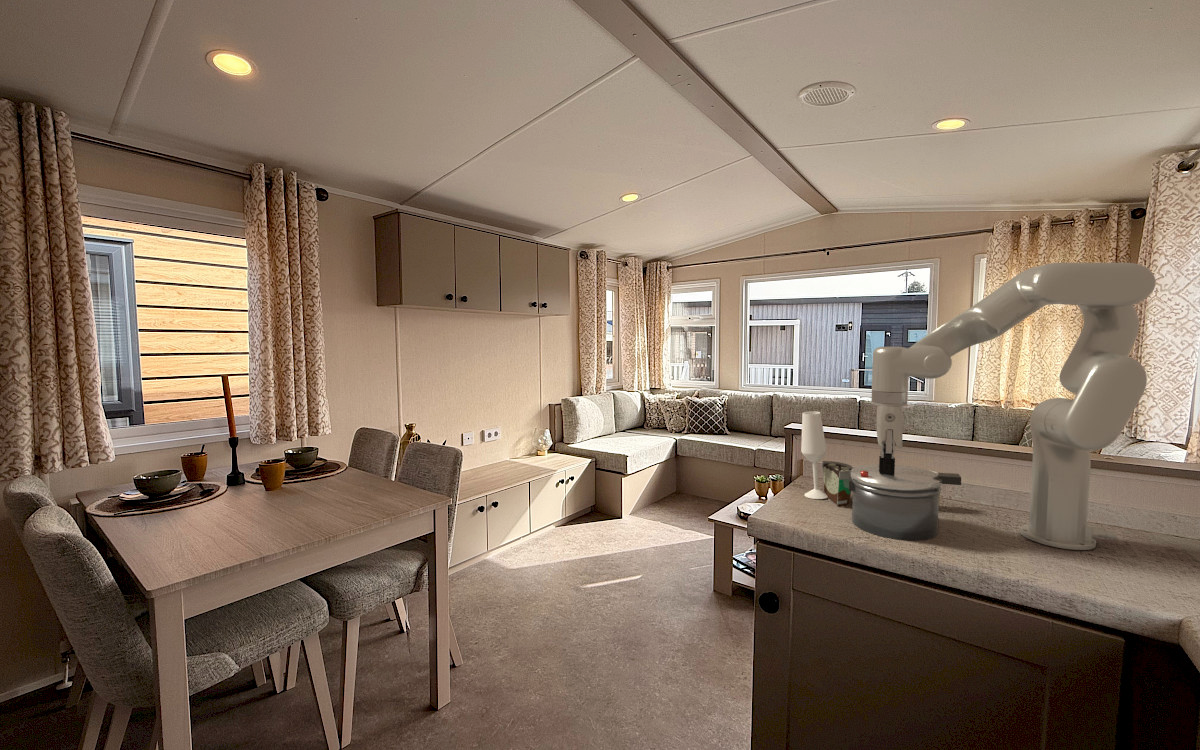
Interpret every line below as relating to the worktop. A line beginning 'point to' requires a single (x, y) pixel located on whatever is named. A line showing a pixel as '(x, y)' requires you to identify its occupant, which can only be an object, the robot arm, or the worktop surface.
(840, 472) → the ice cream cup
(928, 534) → the cooker pot
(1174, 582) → the worktop surface
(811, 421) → the champagne flute
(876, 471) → the cooker lid
